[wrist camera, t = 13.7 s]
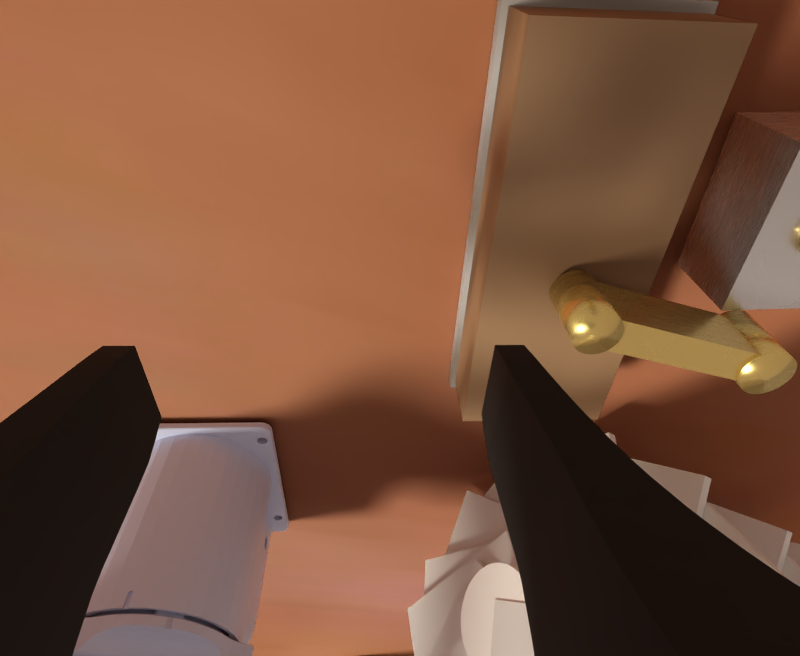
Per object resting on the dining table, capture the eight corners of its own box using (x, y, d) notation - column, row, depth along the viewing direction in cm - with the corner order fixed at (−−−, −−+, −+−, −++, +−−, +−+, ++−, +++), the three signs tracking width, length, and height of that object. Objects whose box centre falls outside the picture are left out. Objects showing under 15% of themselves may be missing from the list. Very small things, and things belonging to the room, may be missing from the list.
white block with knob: (778, 259, 21) (848, 313, 18) (675, 261, 21) (727, 316, 18) (858, 109, 17) (963, 145, 14) (733, 111, 17) (812, 147, 14)
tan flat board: (577, 377, 25) (600, 424, 22) (448, 378, 24) (457, 425, 22) (708, -1, 15) (771, 9, 13) (499, -9, 15) (524, 0, 12)
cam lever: (762, 316, 18) (809, 360, 16) (729, 352, 19) (770, 398, 17) (564, 262, 17) (590, 305, 15) (539, 305, 18) (560, 350, 16)
